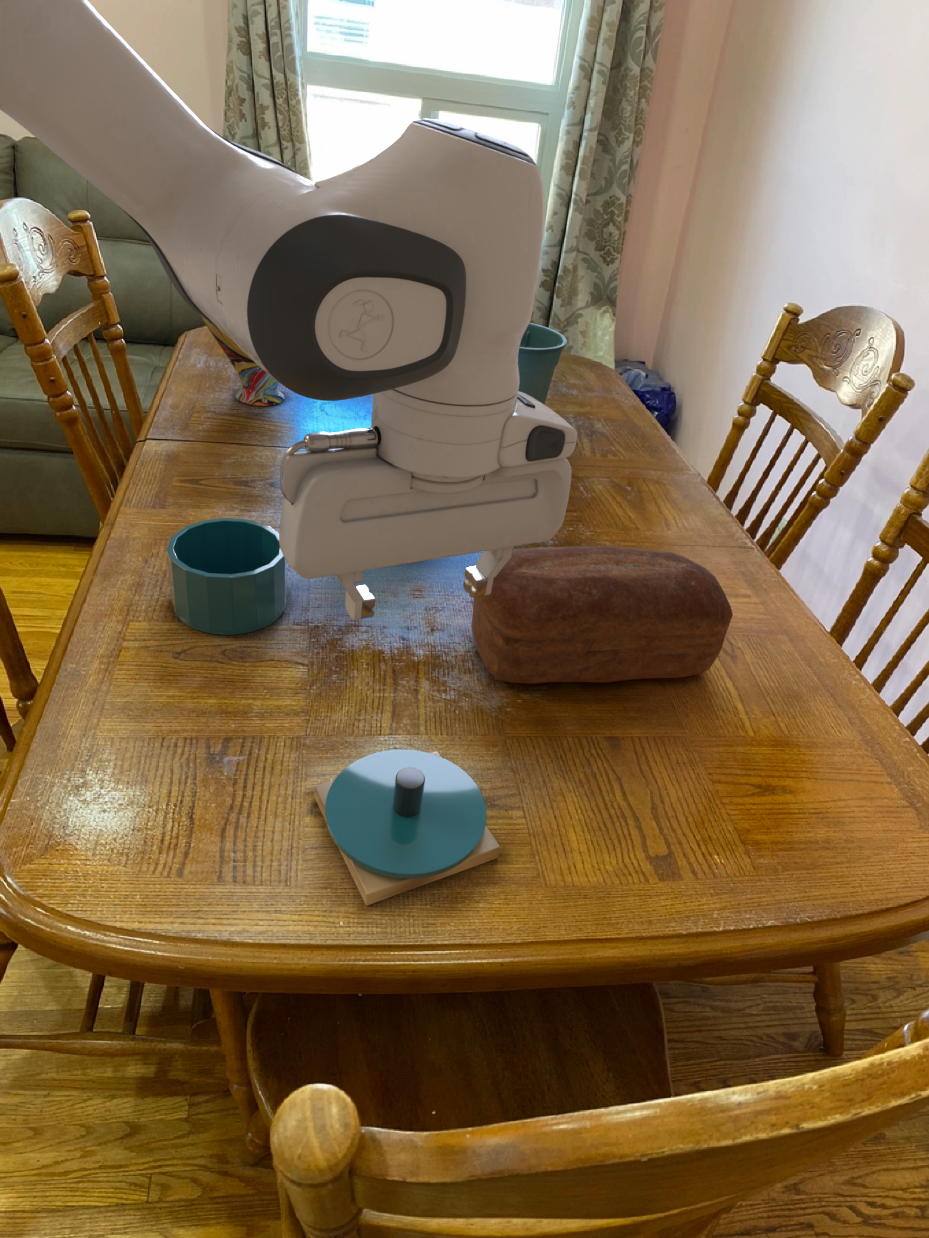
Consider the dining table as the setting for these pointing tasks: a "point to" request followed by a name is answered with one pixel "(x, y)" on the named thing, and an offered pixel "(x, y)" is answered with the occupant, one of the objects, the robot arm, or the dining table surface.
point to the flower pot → (538, 360)
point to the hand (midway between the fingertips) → (419, 603)
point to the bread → (599, 616)
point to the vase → (248, 373)
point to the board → (384, 887)
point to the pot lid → (405, 813)
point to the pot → (227, 576)
